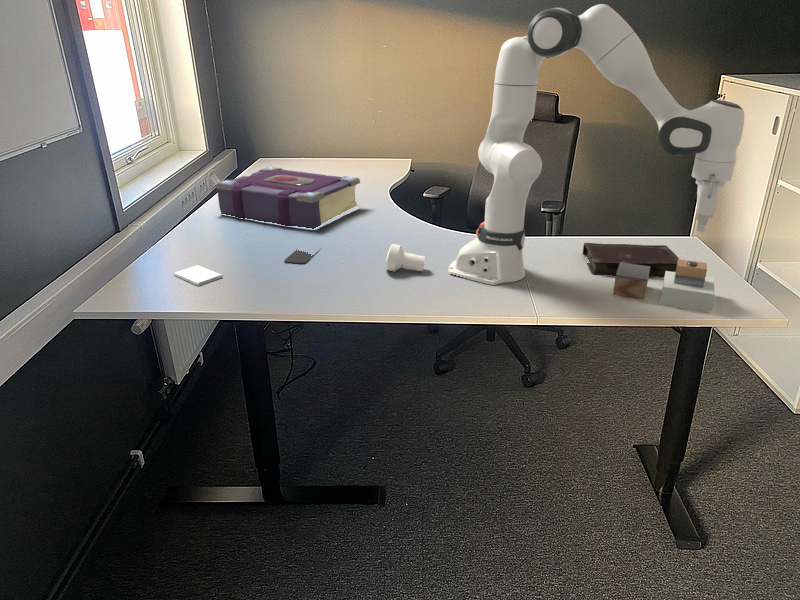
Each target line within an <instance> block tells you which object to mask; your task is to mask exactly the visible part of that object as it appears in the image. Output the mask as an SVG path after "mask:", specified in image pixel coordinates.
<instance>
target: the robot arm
mask: <svg viewBox="0 0 800 600" xmlns="http://www.w3.org/2000/svg"><path fill="white" fill-rule="evenodd" d="M571 49H578V50H580V51H581V52H583V53H584V54H585V55H586V56H587V57H588V58H589V60H590V61H591V62H592V63H593V66H594V67H595V68H596V69H597V70H598V71H599V72H600V74H601V75H603V77H604V78H606V80H608V81H609V82H610V83H612V84H613V85H614V86H616V87H619V88H622V89H625V90H627V91H629V92H630V93H632V94H633V95H634V96H636V97H637V99H638V100H639V101H640V102H641V103H642V105H643V106H644V107H645V108H646V110H647V111H648V112H649V114H651V116H652V117H653V119H655V121H656V124H657V128H658V129H657V130H658V144H659V146H660V147H661V150H663V151H664V152H665V153H667V154H669V155H672V156H686V155H695V157H694V163H693V167H692V172H691V177H692V178H693V179H695V184H696V185H697V189H696V190H697V191H696V220H697V226H696V232H700V233H703V232H705V230H706V226H707V223H708V221H709V219H712V218H713V217H714V215H715V210H716V206H717V203H718V202H717V201H718V198H719V197H718V196H719V193H720V188H723V187H724V186H725V183H726V182H730V181H732V178H733V174H734V170H735V165H736V161H737V149H738V147H739V145H740V143H741V140H742V135H743V130H744V125H745V111H744V109H743V107H741V106H740V105H739V104H738V103H734V102H731V101H728V100H720V99H713V100H710V101H709V102H708V103H706V104H704V105H702V106H699V107H696V108H695V109H691V108H689V107H687V106H684V105H682V104H680V102H678V101H677V99H676V98H675V97H674V95H672V94H671V92H670V91H669V90H668V89H667V87H666V86H665V85H664V83H663V82H662V81H661V79H660V78H659V76H658V75H657V73H656V71H655V69H654V66H653V63H652V60H651V58H650V56H649V54H648V51H647V49H646V47H645V45H644V43H643V41H641V39H640V37H639V36H638V34H637V33H636V32H635V30H634V29H633V28H632V26H630V24H629V23H628V22H627V21H626V20H625V19H624V18H623V17H622V16H621V15H620V14H619V13H618V12H617V11H616V10H614V9H613V8H612V7H611V6H609V5H608V4H606V3H605V4H604V3H599V4H596V5H593V6H591V7H589V8H588V9H586V10H585V11H584V12H583V13H581V14H579V15H577V14H574V13H573V12H571V11H570V10H568V9H566V8H563V7H551V8H547V9H544V10H541V11H540V12H538V13H537V14H536V15H535V16H534V17H533V18H532V19H531V21H530V23H529V25H528V28H527V33H526V35H525V36H515V37H512V38H510V39H507V40H506V41H505V42H503V44H502V45H501V48H500V51H499V54H498V58H497V63H496V67H495V74H494V82H493V84H494V85H493V95H492V105H491V112H490V113H491V114H490V119H489V123H488V126H487V129H486V133H485V136H484V139H483V140H482V141H481V142H480V144H479V147H478V151H477V154H478V160H479V162H480V163H481V165H482V166H483V168H484V170H486V171H487V172H488V173H490V174H492V175H493V178H494V179H493V183H492V184H493V185H492V189H491V191H490V194H489V196H487V198H486V199H485V207H484V209H485V210H484V221H483V222H481V223H480V224H479V227H478V228H477V230H476V231H475V232H476V233H475V235H476V237H475V238H474V239H472V240H471V241H469V242H467V243H466V244H464V245H463V246H462V247H461V248H460V250H459V252H458V253H457V256H456V259H455V260H453V261H452V262H451V263H450V264H449V266H448V270H447V271H448V274H449V273H450V274H449V275H451V274H453V275H452V276H454V275H456V276H455V277H458V276H460V277H459V278H462V277H463V279H466V278H467V280H470V281H475V282H479V283H483V284H487V285H491V286H495V285H500V284H504V283H505V284H506V283H514V282H518V281H520V280H523V279H524V278H525V277H526V270H525V266H524V258H523V255H524V253H523V248H524V245H525V240H526V239H525V237H526V233H525V232H526V228H525V227H524V225H525V214H526V205H527V200H528V196H529V193H530V190H531V188H532V184H533V183H535V181H536V180H537V179H538V178H539V177H540V175H541V173H542V168H543V160H542V158H541V156H540V155H539V153H538V151H536V149H534V148H533V147H532V146H531V145H530V144H528V143H525V142H524V141H523V140H524V135H525V132H526V130H527V127H528V125H529V123H530V121H532V120H533V118H534V116H535V112H536V111H535V110H536V109H535V108H536V101H537V93H538V92H537V91H538V83H539V73H540V68H541V66H542V64H543V62H544V60H545V59H549V58H558V57H561V56H563V55H564V54H566V53H568V52H569V51H571Z"/></svg>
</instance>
